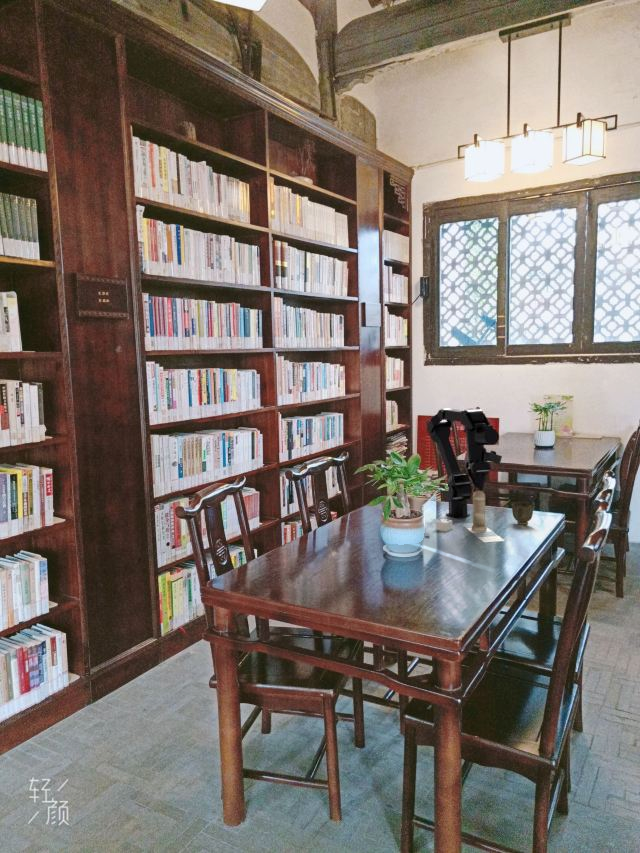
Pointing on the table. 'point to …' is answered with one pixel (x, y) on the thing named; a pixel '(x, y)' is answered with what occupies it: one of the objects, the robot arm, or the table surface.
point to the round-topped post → (479, 512)
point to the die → (444, 525)
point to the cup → (522, 512)
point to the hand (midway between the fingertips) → (479, 489)
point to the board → (484, 534)
